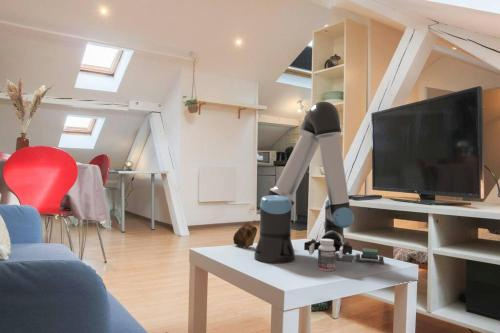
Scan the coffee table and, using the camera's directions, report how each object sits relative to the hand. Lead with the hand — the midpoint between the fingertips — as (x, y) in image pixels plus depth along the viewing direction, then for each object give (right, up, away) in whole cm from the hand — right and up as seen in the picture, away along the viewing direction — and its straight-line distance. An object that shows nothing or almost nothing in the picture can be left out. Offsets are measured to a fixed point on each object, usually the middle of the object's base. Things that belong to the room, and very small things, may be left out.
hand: (325, 252), depth 123 cm
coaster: (+10, -7, +22) cm, 26 cm away
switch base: (+20, -8, +17) cm, 27 cm away
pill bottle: (+1, -7, +4) cm, 8 cm away
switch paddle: (+20, -6, +17) cm, 27 cm away
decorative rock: (-27, -7, +41) cm, 50 cm away
